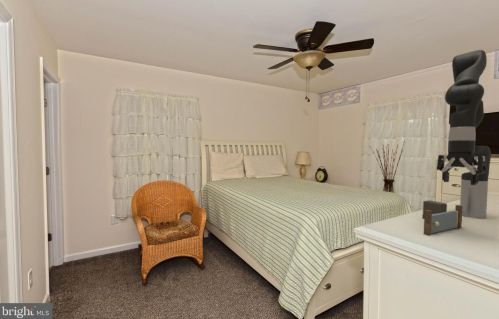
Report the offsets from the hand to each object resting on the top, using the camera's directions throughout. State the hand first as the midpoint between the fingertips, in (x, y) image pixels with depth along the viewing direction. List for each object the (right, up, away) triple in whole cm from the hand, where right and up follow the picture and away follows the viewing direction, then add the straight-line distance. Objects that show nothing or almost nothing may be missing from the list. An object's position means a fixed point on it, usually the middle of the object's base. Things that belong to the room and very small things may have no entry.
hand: (459, 183), depth 90 cm
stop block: (+4, -18, +18) cm, 26 cm away
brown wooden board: (-3, -19, +4) cm, 19 cm away
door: (-3, -18, +3) cm, 19 cm away
